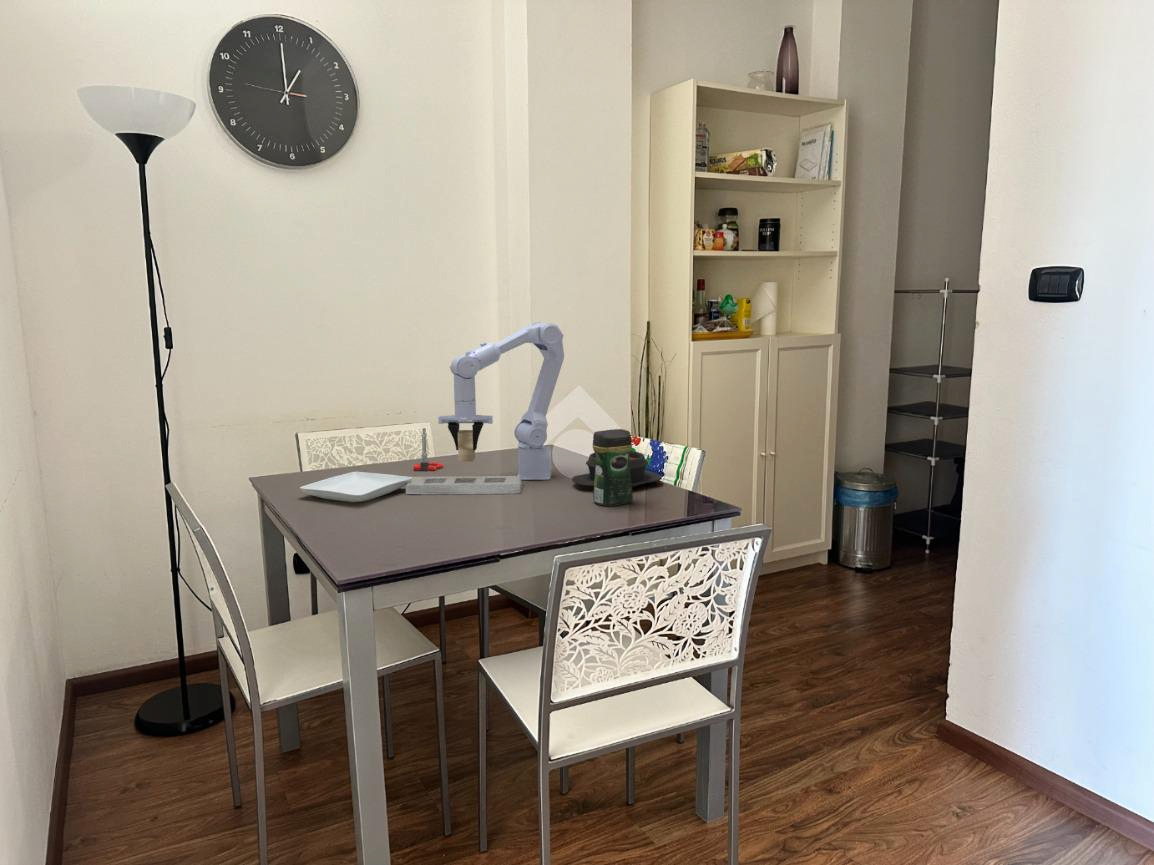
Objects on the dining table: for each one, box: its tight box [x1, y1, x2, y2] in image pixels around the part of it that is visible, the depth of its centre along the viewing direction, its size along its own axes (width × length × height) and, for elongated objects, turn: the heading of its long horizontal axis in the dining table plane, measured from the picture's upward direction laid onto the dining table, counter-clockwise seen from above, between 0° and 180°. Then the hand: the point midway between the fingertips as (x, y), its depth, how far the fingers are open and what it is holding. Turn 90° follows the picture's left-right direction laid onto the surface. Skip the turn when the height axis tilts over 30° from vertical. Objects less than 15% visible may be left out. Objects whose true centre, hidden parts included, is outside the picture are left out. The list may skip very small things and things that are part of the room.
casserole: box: [571, 450, 663, 488], centre depth 224 cm, size 25×19×8 cm
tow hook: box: [413, 427, 444, 472], centre depth 248 cm, size 8×13×9 cm
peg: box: [457, 429, 476, 463], centre depth 225 cm, size 4×4×8 cm
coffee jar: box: [592, 428, 634, 507], centre depth 205 cm, size 10×8×19 cm
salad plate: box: [299, 471, 413, 503], centre depth 217 cm, size 21×21×3 cm
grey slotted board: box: [405, 475, 523, 495], centre depth 221 cm, size 30×10×2 cm, turn 90°
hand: (466, 449), depth 225 cm, fingers closed on peg, 4 cm apart
